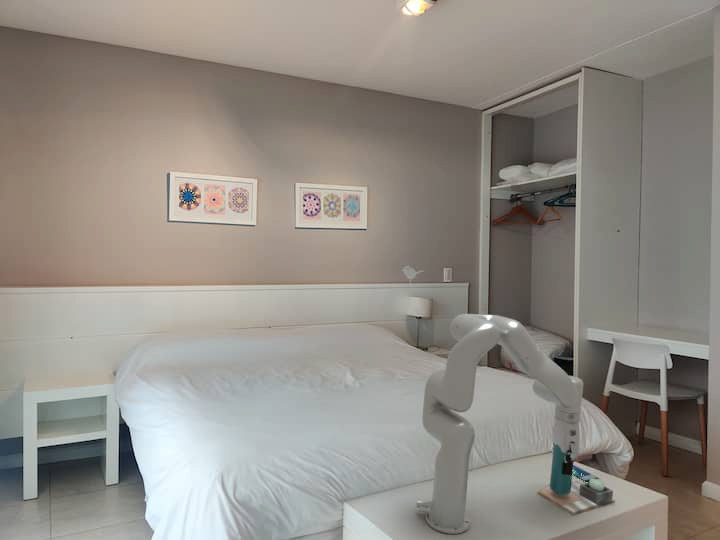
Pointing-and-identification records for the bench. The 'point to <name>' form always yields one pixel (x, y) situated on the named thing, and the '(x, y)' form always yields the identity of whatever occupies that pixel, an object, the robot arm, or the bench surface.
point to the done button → (596, 485)
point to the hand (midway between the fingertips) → (561, 468)
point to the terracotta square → (559, 497)
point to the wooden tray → (585, 498)
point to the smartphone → (579, 471)
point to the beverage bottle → (559, 473)
